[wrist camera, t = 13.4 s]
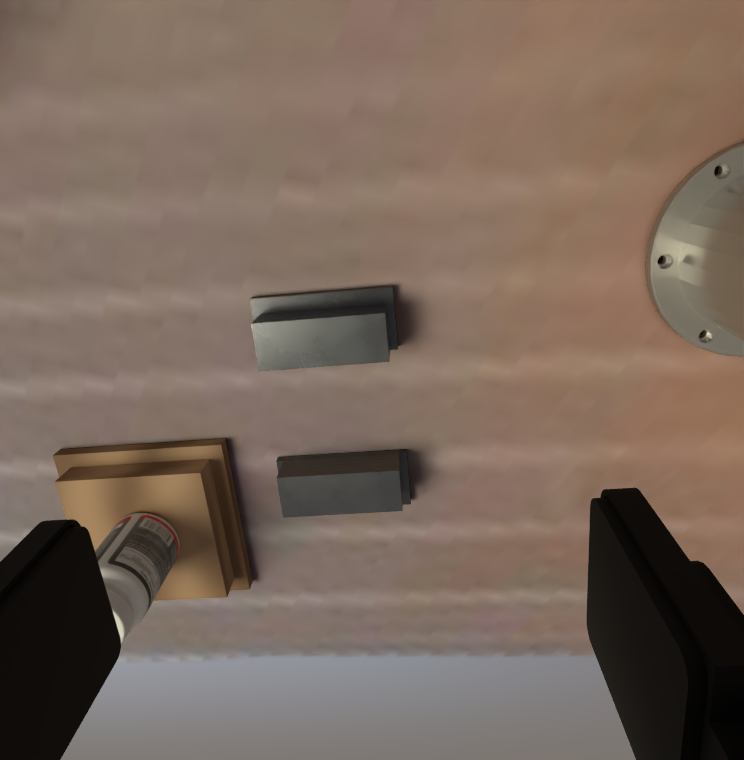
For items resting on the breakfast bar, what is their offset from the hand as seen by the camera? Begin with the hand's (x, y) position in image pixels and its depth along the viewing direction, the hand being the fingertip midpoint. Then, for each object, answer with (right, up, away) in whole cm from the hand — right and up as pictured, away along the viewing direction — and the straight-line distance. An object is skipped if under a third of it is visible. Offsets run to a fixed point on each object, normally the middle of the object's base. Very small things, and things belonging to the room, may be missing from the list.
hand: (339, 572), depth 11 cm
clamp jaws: (-2, +2, +30) cm, 30 cm away
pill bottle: (-15, -7, +31) cm, 35 cm away
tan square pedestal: (-15, -7, +33) cm, 37 cm away
